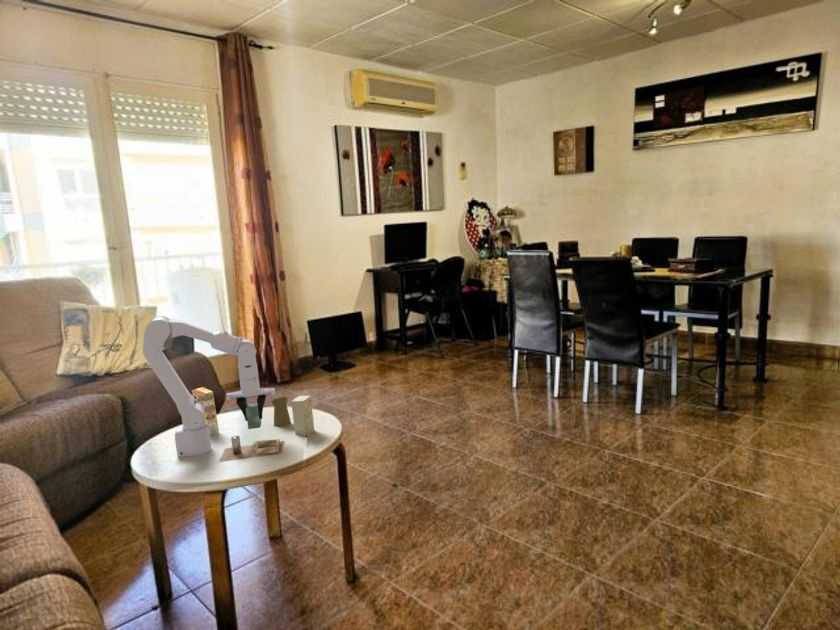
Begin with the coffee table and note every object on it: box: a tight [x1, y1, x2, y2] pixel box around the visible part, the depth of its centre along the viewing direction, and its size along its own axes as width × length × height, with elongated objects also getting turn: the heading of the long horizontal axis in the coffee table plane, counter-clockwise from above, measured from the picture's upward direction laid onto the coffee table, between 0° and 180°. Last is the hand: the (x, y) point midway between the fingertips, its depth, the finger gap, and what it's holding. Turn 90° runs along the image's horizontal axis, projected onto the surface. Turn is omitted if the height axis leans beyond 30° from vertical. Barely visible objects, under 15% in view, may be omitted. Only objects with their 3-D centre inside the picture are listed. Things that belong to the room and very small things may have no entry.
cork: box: [271, 394, 292, 428], centre depth 186 cm, size 6×6×11 cm
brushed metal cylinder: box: [230, 435, 242, 455], centre depth 163 cm, size 2×2×5 cm
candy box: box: [191, 387, 220, 436], centre depth 184 cm, size 9×4×15 cm, turn 44°
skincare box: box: [290, 395, 315, 438], centre depth 178 cm, size 6×4×12 cm
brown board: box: [218, 438, 285, 463], centre depth 164 cm, size 18×10×2 cm, turn 100°
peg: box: [246, 402, 262, 430], centre depth 172 cm, size 4×4×7 cm
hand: (254, 419), depth 173 cm, fingers closed on peg, 4 cm apart
